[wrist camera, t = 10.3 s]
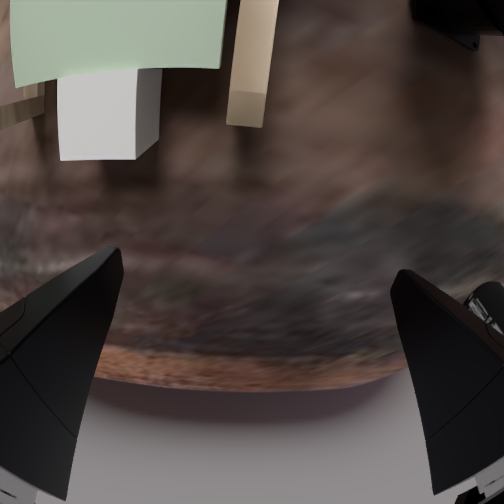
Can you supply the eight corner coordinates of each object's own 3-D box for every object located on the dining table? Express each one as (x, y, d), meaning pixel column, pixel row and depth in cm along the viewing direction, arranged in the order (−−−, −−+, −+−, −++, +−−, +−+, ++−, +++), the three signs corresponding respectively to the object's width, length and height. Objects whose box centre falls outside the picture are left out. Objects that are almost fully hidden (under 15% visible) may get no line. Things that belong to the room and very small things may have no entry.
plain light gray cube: (137, 68, 12) (135, 159, 15) (162, 69, 16) (158, 139, 19) (57, 78, 12) (60, 160, 14) (95, 74, 16) (95, 140, 19)
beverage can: (502, 291, 29) (548, 356, 19) (469, 324, 31) (508, 393, 21) (492, 268, 26) (547, 341, 16) (454, 305, 29) (500, 384, 19)
